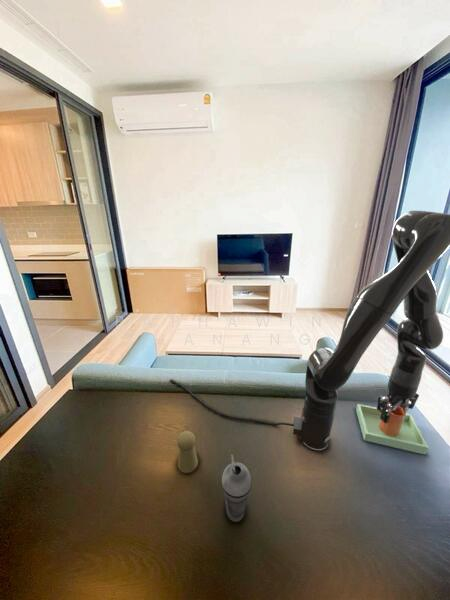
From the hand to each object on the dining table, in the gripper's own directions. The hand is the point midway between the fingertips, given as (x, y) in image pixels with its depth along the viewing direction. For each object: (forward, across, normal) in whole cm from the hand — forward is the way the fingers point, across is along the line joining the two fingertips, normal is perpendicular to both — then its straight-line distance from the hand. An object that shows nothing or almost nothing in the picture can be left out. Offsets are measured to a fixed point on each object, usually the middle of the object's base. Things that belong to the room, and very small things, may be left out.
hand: (391, 419), depth 83 cm
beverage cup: (+5, +58, +11) cm, 60 cm away
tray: (+5, 0, 0) cm, 5 cm away
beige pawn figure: (+5, +69, -4) cm, 70 cm away
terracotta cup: (+5, 0, 0) cm, 5 cm away
